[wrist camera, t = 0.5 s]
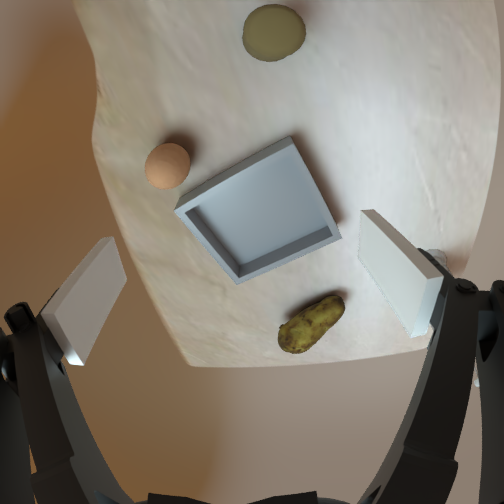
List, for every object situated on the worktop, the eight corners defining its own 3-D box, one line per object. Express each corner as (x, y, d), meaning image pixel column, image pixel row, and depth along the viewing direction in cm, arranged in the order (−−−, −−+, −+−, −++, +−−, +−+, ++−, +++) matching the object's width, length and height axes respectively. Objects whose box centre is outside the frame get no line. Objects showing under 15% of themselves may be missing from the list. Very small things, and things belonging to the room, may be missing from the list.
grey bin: (289, 135, 34) (293, 143, 31) (336, 224, 42) (342, 238, 39) (179, 198, 39) (173, 210, 37) (237, 269, 47) (236, 284, 44)
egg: (169, 128, 33) (152, 145, 28) (203, 153, 35) (192, 174, 30) (147, 160, 36) (128, 182, 30) (178, 183, 38) (165, 208, 32)
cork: (296, 17, 25) (315, 0, 16) (294, 63, 28) (312, 65, 20) (243, 14, 25) (238, -5, 16) (241, 60, 28) (236, 61, 20)
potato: (344, 314, 54) (353, 348, 48) (280, 329, 57) (283, 363, 50) (340, 285, 50) (350, 321, 43) (269, 302, 52) (271, 339, 46)
